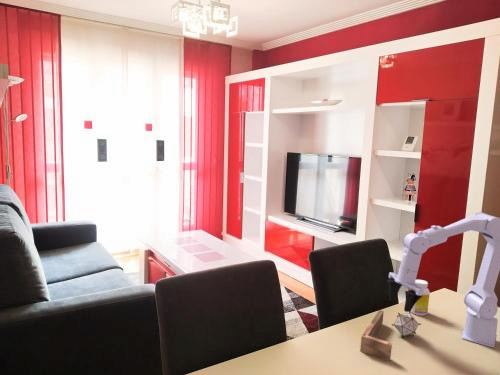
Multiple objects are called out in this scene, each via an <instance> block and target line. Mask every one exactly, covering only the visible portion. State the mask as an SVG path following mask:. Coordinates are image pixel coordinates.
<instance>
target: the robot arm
mask: <svg viewBox="0 0 500 375" xmlns="http://www.w3.org/2000/svg"><path fill="white" fill-rule="evenodd" d="M470 231H473V232H478V233H479V234H481V235H482V237H483V238H484V239H485V241H486V243H487V244H486V247H485V250H484V253H483V256H482V260H481V264H480V268H479V271H478V274H477V278H476V282H475V284H473V285H471V286H469V288H468V291H467V292H466V293H465V294H464V297H463V302H464V304H465V305H466V306H465V307H466V315H465V316H466V317H465V324H464V328H463V330H462V335H461V336H462V337H461V339H462V340H466V341H468V342H469V341H470V342H473V343H476V344H480V345H483V346H487V347H490V348H495V345H496V344H495V343H496V341H497V336H498V335H497V332H498V331H497V330H498V318H496V317H495V316H497V313H498V301H499V300H498V296H497V295H496V293H495V287H496V283H497V281H498V277H499V274H500V217H497V216H493V215H490V214H487V213H485V212H482V211H480V212H476V213H474V214H473V213H472V214H469V216H467V217H466V218H463V219H460V220H458V221H456V222H453V223H450V224H449V225H446V226H444V227H442V226H440V225H431V226H430V228H427V229H425V230H419V231H417V233H416V232H415V233H414V232H410V233H408V234H407V235H405V237H404V238H402V244H403V252H402V257H401V261H400V265H399V269H398V273H396V272H393V271H392V272H389V273H388V278H389V279H387V280H386V283H387V287H388V295H389V296H388V298H389V301H390V302H396V300H397V298H398V294H399V292H400V290H401V287H402V286H403V287H404V288H407V289H408V290H405V291H404V295H405V303H404V307H403V311H404V312H406V313H409V312H410V311H411V310H412V308H413V306H414V305H415V303H416V302H417V301H418V300H419V299H420V298H421V297H422V295H423V291H424V290H423V289H421V288H420V287H419V286H418V285H417V284H416V283H415V280H417V275H418V271H419V267H420V263H421V259H422V256H423V254H424V253H426V252H427V250H428V249H429V248H431V247H434V246H437V245H439V244H442V243H446V242H447V240H448V238H450V237H452V236H456V235H459V234H460V235H461V234H463V233H466V232H470Z"/></svg>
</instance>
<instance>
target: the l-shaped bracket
mask: <svg viewBox="0 0 500 375" xmlns="http://www.w3.org/2000/svg"><path fill="white" fill-rule="evenodd" d="M384 313H385V312H384V310H381V309H379V310H378V312H376V314H375V316H374V317H373V319H372V320H371V321H370V323H369V324H368V326H367V327H366V329H365V330H364V332H363V333H362V335H361V340H360V349H359V352H361V353H365V354H367V355H370V356H373V357H376V358H378V359H379V358H380V359H382V360H385V361H388V362H390V361H391V358H392V349H393V343H390V342H389V341H387V340H383V339H379V338H377V337H376V335H377V333H378V332H379V330H380V328H381V326H382V325H383V321H384Z"/></svg>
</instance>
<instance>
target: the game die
mask: <svg viewBox="0 0 500 375" xmlns="http://www.w3.org/2000/svg"><path fill="white" fill-rule="evenodd" d="M411 313H412V312H406V313H400V312H397V314H398V315H396V319H395V322H394V323H392V324H391V326H392V327H393V326H394V327H395V328H396V330H397V331H398V332H399V334H400V335H401V339H403V338H404V337H406V336H413V337H415V335H417V332H416V331H417V329H418V327H419V326H422V323H419V322H418V321H417V320H416V318H414V316H413V315H412V314H411Z"/></svg>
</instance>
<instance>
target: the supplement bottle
mask: <svg viewBox="0 0 500 375" xmlns="http://www.w3.org/2000/svg"><path fill="white" fill-rule="evenodd" d="M415 283H416V284H417V285H418V286H419V287H420V288H421V289H423V290H424V291H423V295H422V297H421V298H420V299H419V300H418V301H417V302H416V303H415V305H414V306H413V308H412V310H411V311H410V312H411V313H412V314H413V315H416V316H423V317H424V316H426V315H427V314H428V311H429V301H430V294H431V292H430V290H429V288H428V286H429V283H428V281H427V280H423V279H416V280H415Z"/></svg>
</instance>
